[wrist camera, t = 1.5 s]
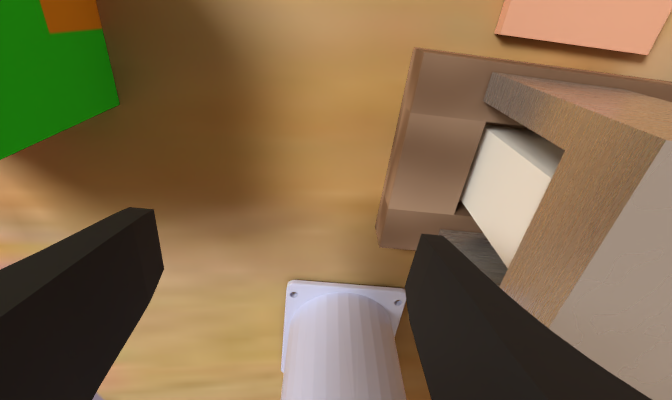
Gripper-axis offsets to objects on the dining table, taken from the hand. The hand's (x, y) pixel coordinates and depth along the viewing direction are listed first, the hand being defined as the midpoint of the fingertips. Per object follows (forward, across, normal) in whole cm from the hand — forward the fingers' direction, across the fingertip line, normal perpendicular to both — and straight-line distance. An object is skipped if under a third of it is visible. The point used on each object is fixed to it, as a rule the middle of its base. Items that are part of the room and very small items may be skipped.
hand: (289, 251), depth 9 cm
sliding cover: (+7, -10, 0) cm, 13 cm away
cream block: (+9, -10, 0) cm, 14 cm away
